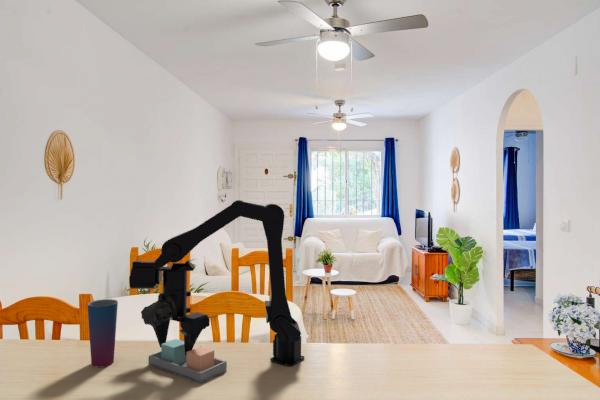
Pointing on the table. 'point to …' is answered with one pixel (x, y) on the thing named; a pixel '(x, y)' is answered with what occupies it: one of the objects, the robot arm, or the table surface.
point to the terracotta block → (200, 359)
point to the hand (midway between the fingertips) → (174, 351)
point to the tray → (186, 372)
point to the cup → (102, 331)
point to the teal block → (173, 351)
